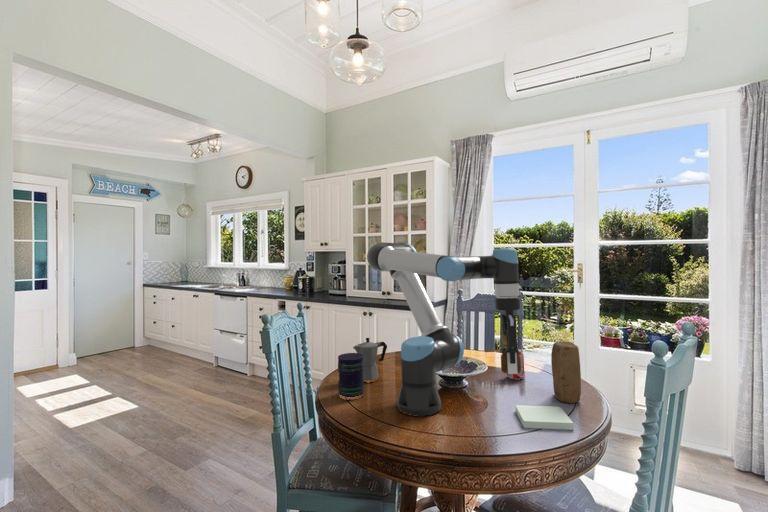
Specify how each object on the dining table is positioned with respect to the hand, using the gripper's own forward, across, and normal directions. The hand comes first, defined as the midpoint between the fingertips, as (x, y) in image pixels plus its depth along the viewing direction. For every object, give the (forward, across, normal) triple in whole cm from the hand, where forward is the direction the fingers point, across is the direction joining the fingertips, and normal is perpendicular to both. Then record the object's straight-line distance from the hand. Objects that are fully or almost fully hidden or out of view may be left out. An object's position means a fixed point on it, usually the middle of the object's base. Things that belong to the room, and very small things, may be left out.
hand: (510, 370), depth 116 cm
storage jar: (+14, +14, +56) cm, 60 cm away
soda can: (+15, +42, -8) cm, 46 cm away
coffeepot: (+14, +33, +53) cm, 64 cm away
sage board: (+16, +1, -9) cm, 18 cm away
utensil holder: (+1, 0, 0) cm, 1 cm away
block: (+16, +21, -21) cm, 34 cm away
